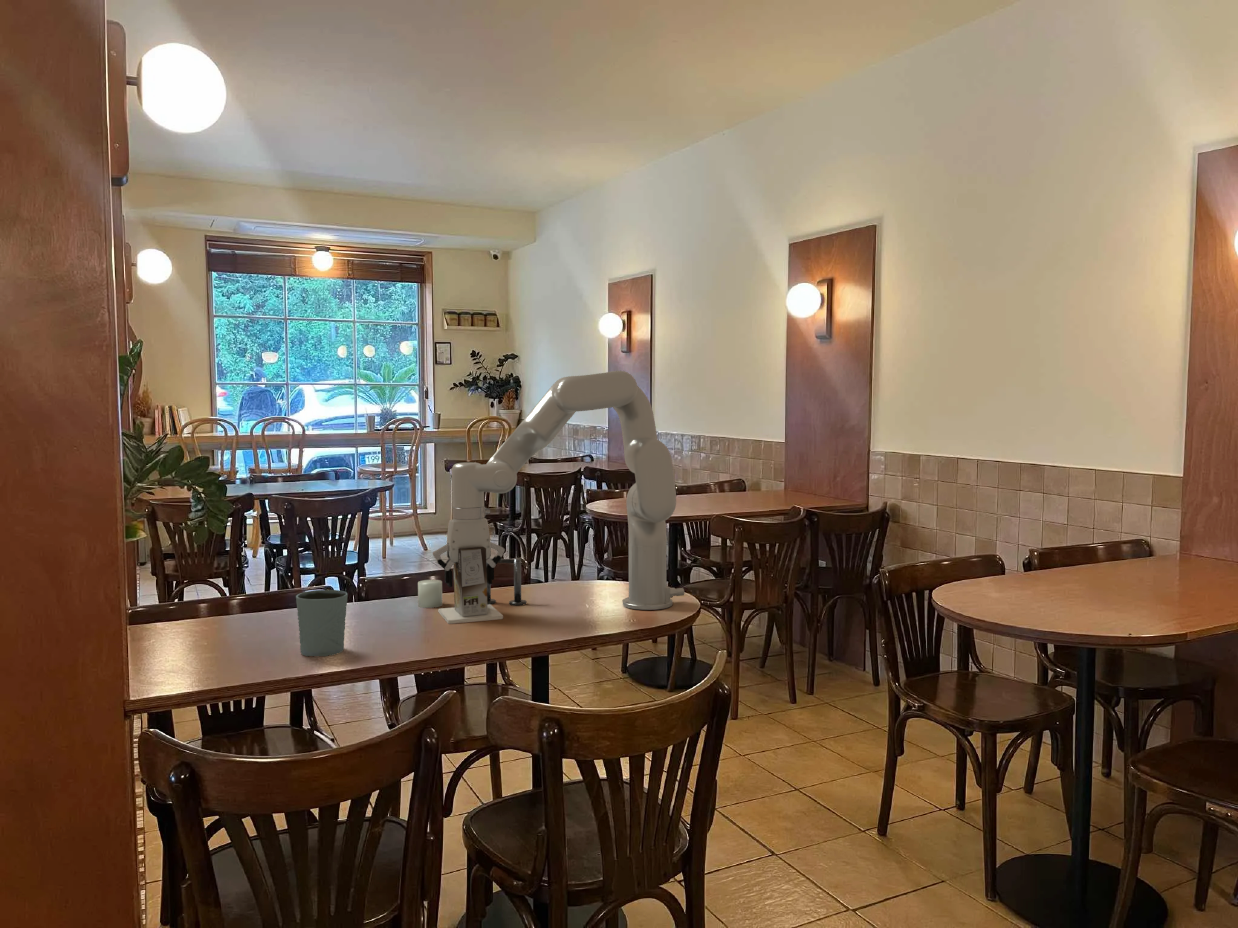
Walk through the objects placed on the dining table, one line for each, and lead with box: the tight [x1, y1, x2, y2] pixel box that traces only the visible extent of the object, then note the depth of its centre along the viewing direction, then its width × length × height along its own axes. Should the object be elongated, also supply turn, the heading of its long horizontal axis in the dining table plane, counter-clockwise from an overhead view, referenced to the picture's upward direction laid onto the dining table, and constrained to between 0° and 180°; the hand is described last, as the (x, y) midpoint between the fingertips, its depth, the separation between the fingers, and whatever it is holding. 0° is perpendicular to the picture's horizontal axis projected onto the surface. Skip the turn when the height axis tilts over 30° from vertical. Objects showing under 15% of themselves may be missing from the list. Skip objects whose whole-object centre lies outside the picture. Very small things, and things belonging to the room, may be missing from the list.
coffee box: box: [452, 547, 487, 617], centre depth 222 cm, size 9×6×16 cm
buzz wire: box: [453, 557, 527, 608], centre depth 234 cm, size 18×8×12 cm, turn 111°
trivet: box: [437, 604, 504, 625], centre depth 223 cm, size 13×13×1 cm
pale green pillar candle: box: [417, 579, 443, 609], centre depth 234 cm, size 6×6×6 cm
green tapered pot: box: [295, 589, 349, 657], centre depth 191 cm, size 10×10×12 cm
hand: (469, 584), depth 222 cm, fingers open, 9 cm apart
